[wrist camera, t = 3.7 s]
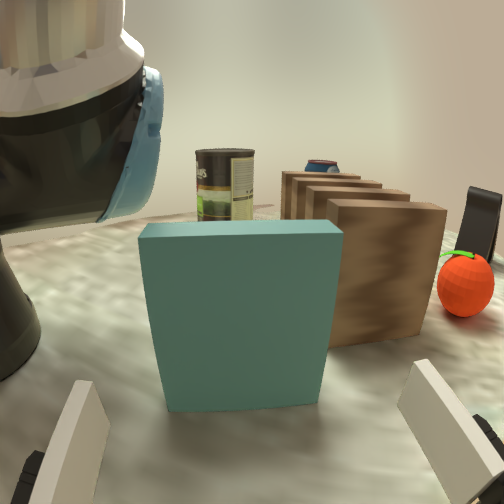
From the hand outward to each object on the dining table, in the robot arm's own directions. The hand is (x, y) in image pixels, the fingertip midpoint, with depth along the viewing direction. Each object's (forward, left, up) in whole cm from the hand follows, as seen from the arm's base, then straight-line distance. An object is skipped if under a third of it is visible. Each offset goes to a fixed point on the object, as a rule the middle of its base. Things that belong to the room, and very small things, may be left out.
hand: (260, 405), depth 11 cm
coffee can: (0, +48, -7) cm, 49 cm away
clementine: (+24, +15, -7) cm, 29 cm away
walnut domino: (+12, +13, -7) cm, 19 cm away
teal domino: (0, +7, -7) cm, 10 cm away
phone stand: (+40, +28, -7) cm, 49 cm away
